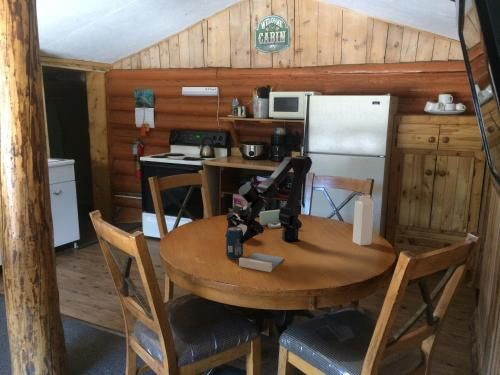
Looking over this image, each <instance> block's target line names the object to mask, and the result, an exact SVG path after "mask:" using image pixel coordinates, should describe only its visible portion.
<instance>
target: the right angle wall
mask: <svg viewBox="0 0 500 375" xmlns="http://www.w3.org/2000/svg"><path fill="white" fill-rule="evenodd" d="M279 212H280V209H274V210H265V211H260V213H259V216H260V217H259V223H260V224H261V225H262V226H266V225H267V228H269V229H279V228H281V227H282V226H281V224H280V220H279V215H278V214H279Z"/></svg>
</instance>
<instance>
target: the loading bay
mask: <svg viewBox="0 0 500 375" xmlns="http://www.w3.org/2000/svg"><path fill="white" fill-rule="evenodd" d="M284 260H285V257H283V256H282V257H281V256H275V255H270V254H263V253H258V252H254V253H253V254H251V255H250V256H248V257H247V258H246V257H243V256H242V257H241V258H239V259H238V266H239V267H242V268H247V269H252V270H256V271H257V270H258V271H261V272H267V273H271V272H272V271H274V270H275V269H276V268H277V267H279V265H280V264H281V263H283V261H284Z"/></svg>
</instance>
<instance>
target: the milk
mask: <svg viewBox="0 0 500 375" xmlns="http://www.w3.org/2000/svg"><path fill="white" fill-rule="evenodd" d="M371 196H372V195H370V194H368V195H360V196H359V197H358V199H357V200H355V201H354V209H353V210H354V212H353V228H352V243H354V244H357V245H358V246H361V245H362V246H368V245H372V241H373V240H372V239H373V228H374V227H373V225H374V210H375V203H374V200H372V199H371Z"/></svg>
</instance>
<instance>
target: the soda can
mask: <svg viewBox="0 0 500 375" xmlns="http://www.w3.org/2000/svg"><path fill="white" fill-rule="evenodd" d="M227 228H228V227H227ZM226 231H227V232H225V235H226V237H225V255H226V256H227V258H228V259H230V260H239V258H241V257H242V258H243V256H244V243H242V244H241V243H240V240H241V238H242V237H243V231H242V228H241V227H229V228H228V230H227V229H226Z"/></svg>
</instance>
